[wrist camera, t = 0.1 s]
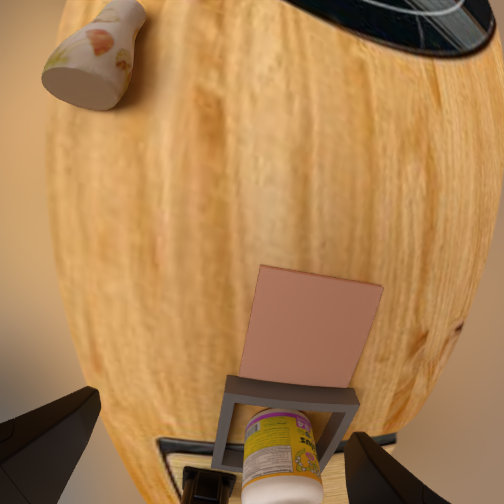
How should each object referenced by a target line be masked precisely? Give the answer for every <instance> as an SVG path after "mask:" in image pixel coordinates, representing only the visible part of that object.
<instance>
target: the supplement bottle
mask: <svg viewBox="0 0 504 504" xmlns="http://www.w3.org/2000/svg"><path fill="white" fill-rule="evenodd" d="M323 496H324V492H323V485H322V480H321V474H320V468H319V463H318V458H317V451H316V447H315V441H314V436H313V431H312V427H311V423H310V421H309V419H308V418H307V417H306V416H305V415H304V414H303V413H301V412H299V411H297V410H290V409H279V408H273V409H269V410H265V411H262V412H260V413H258V414H256V415H255V416H254V417H253V418H251V420H250V421H249V422H248V424H247V426H246V430H245V444H244V461H243V479H242V494H241V501H242V504H320V503H321V502H322V500H323Z"/></svg>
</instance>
